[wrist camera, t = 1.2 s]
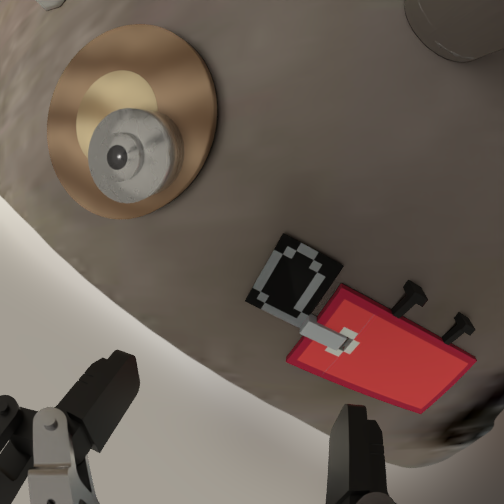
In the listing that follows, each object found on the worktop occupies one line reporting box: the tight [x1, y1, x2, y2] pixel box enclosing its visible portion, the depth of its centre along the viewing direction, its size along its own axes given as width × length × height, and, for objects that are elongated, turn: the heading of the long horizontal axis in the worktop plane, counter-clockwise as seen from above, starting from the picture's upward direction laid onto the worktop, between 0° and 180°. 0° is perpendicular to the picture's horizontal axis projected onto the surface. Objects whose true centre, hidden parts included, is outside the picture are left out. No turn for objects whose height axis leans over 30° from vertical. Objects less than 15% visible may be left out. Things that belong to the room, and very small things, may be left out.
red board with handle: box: [245, 233, 477, 414], centre depth 30 cm, size 30×3×15 cm
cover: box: [88, 108, 184, 203], centre depth 24 cm, size 8×8×5 cm
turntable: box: [47, 24, 217, 219], centre depth 26 cm, size 20×20×3 cm
